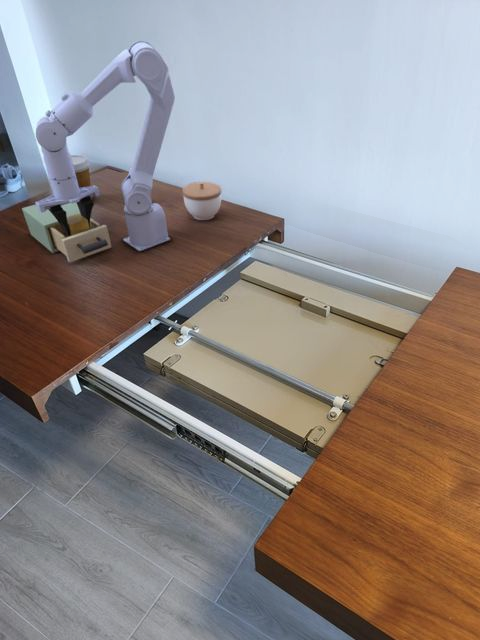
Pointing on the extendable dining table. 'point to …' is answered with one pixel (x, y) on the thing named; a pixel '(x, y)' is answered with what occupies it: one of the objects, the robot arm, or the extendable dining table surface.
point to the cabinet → (46, 222)
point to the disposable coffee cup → (81, 170)
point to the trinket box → (202, 199)
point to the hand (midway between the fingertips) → (77, 231)
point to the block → (77, 224)
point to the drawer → (81, 241)
